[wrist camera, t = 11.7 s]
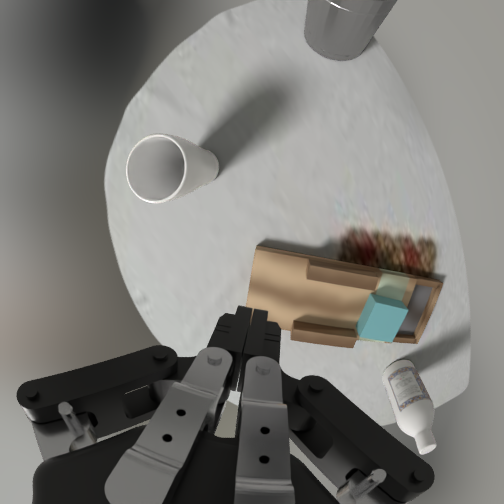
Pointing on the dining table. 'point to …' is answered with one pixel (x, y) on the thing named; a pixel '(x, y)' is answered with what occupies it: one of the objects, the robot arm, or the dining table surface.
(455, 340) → the dining table surface
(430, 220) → the dining table surface
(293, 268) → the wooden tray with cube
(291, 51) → the dining table surface
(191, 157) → the drinking glass
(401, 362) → the bath foam
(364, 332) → the block
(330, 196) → the dining table surface
